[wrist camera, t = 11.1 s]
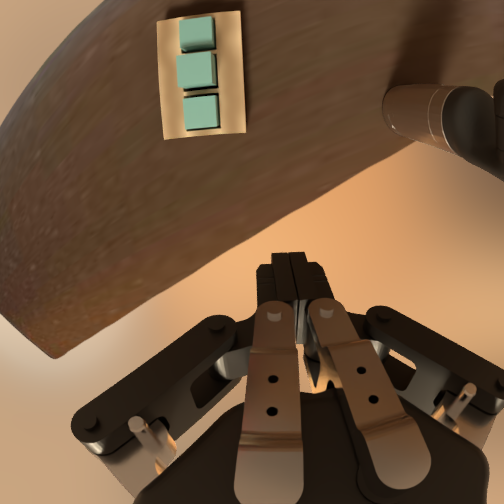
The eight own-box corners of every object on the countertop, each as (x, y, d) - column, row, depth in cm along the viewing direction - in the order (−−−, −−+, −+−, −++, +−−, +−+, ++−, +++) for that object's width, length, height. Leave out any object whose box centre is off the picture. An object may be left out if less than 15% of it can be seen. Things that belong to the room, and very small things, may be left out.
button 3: (219, 96, 40) (214, 95, 35) (221, 123, 42) (216, 126, 37) (191, 99, 40) (182, 98, 35) (193, 126, 42) (185, 129, 37)
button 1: (216, 26, 34) (211, 16, 29) (217, 51, 36) (212, 43, 31) (187, 30, 34) (178, 20, 29) (188, 54, 36) (179, 47, 31)
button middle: (215, 58, 35) (210, 51, 30) (217, 85, 37) (212, 82, 32) (185, 61, 35) (176, 55, 30) (187, 89, 37) (177, 87, 32)
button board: (240, 18, 34) (240, 10, 30) (246, 130, 43) (245, 132, 39) (163, 27, 34) (155, 22, 30) (169, 136, 43) (162, 139, 39)
